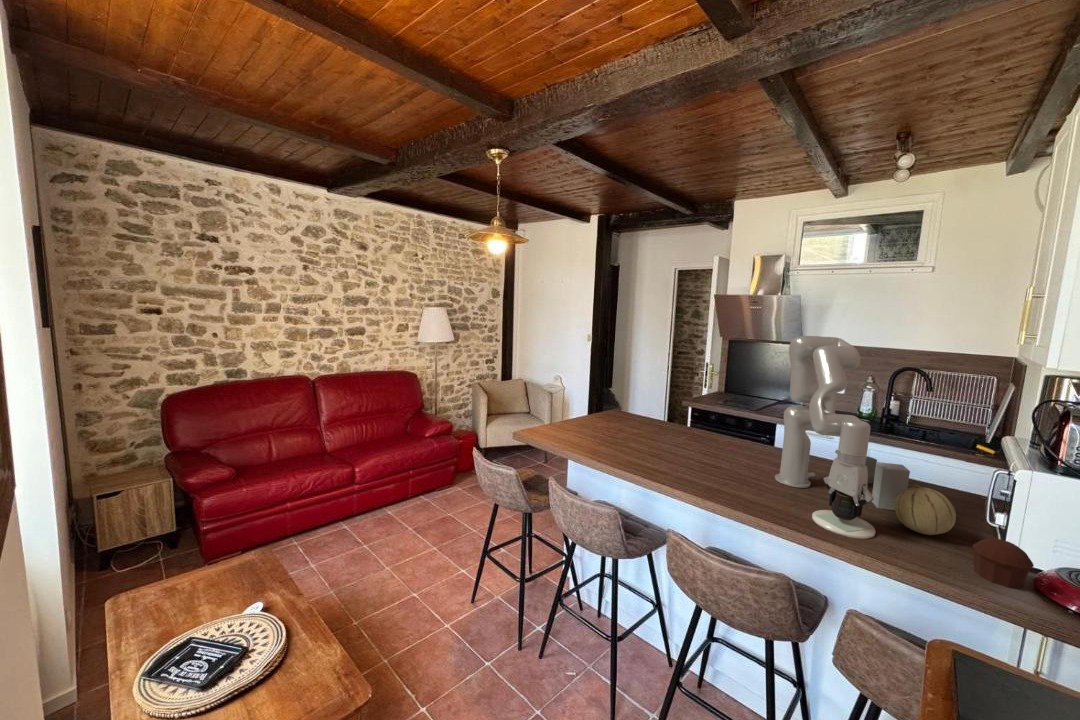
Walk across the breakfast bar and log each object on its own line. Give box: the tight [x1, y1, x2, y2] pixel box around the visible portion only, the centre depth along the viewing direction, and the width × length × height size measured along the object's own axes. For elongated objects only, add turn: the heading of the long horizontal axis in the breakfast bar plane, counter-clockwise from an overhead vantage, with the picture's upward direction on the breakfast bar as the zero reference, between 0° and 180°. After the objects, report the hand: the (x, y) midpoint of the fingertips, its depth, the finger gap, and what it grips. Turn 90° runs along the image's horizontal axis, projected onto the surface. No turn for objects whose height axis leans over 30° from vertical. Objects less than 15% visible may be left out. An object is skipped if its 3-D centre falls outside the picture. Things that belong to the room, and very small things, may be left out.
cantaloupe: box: [894, 484, 957, 536], centre depth 140 cm, size 15×15×15 cm
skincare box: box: [871, 461, 911, 511], centre depth 157 cm, size 8×7×16 cm
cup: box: [865, 455, 878, 484], centre depth 182 cm, size 10×9×10 cm
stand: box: [811, 509, 876, 540], centre depth 143 cm, size 17×17×1 cm
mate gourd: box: [831, 491, 856, 521], centre depth 142 cm, size 7×8×10 cm
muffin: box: [972, 537, 1035, 589], centre depth 116 cm, size 12×11×10 cm
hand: (844, 510), depth 142 cm, fingers closed on mate gourd, 7 cm apart
